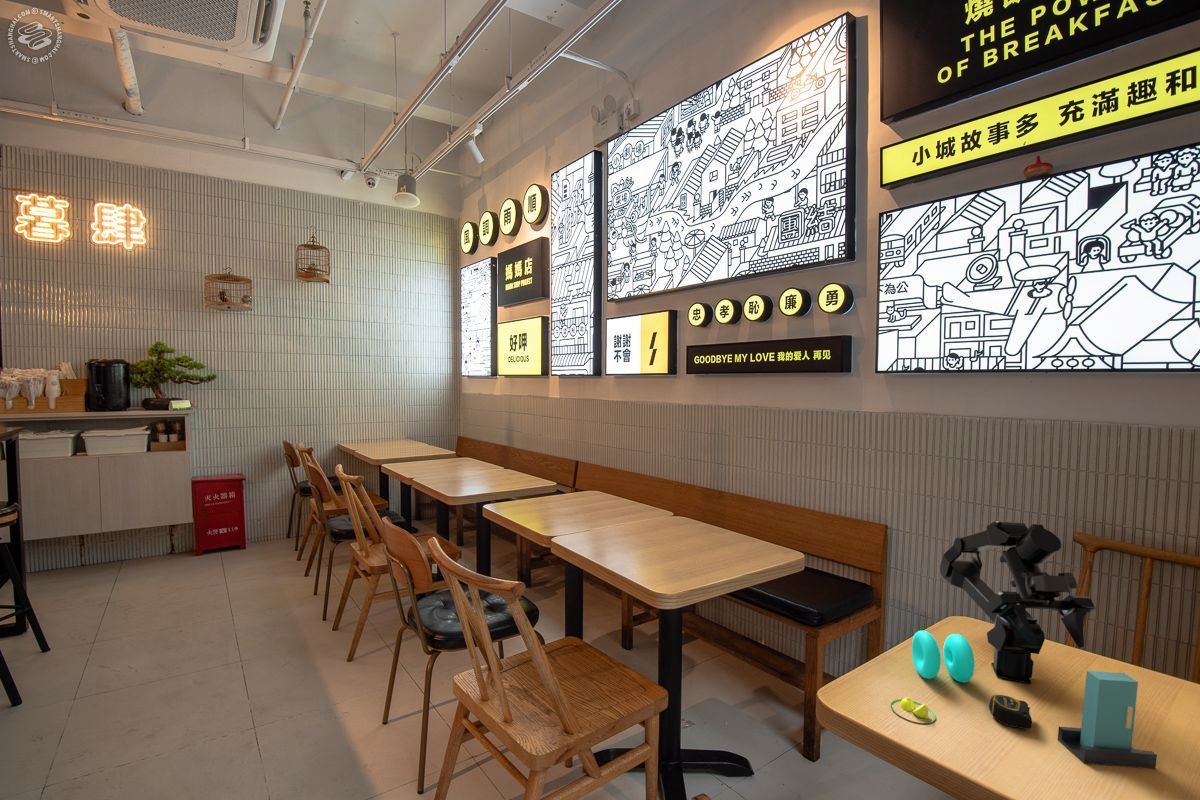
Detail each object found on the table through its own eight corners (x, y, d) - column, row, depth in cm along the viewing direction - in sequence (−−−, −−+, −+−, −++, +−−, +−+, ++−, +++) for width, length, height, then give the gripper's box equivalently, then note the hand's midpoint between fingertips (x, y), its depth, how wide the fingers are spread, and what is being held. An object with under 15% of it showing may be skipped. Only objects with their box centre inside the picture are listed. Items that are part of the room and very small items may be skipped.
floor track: (1057, 739, 109) (1058, 726, 109) (1124, 744, 108) (1126, 731, 108) (1083, 763, 103) (1085, 749, 102) (1155, 768, 102) (1157, 754, 102)
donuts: (975, 692, 124) (978, 647, 124) (925, 686, 126) (928, 642, 125) (954, 668, 134) (957, 626, 134) (908, 663, 136) (911, 622, 135)
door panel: (1079, 743, 107) (1086, 670, 106) (1116, 746, 107) (1123, 673, 106) (1093, 755, 104) (1100, 680, 103) (1131, 758, 103) (1139, 682, 103)
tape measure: (1031, 736, 110) (1033, 717, 110) (988, 723, 114) (989, 704, 114) (1029, 718, 116) (1030, 700, 115) (988, 706, 119) (989, 689, 119)
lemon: (940, 715, 116) (941, 701, 116) (928, 731, 111) (929, 717, 111) (898, 697, 122) (899, 684, 122) (884, 712, 116) (885, 699, 116)
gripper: (1000, 554, 123) (1031, 628, 113) (1093, 559, 122) (1132, 634, 111) (976, 576, 131) (1002, 647, 121) (1062, 581, 130) (1096, 653, 120)
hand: (1058, 645), depth 118 cm, fingers open, 9 cm apart
